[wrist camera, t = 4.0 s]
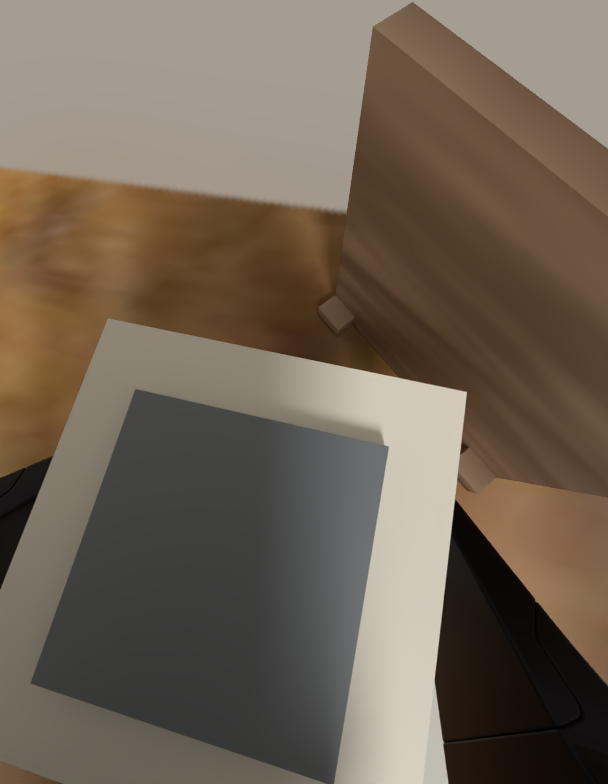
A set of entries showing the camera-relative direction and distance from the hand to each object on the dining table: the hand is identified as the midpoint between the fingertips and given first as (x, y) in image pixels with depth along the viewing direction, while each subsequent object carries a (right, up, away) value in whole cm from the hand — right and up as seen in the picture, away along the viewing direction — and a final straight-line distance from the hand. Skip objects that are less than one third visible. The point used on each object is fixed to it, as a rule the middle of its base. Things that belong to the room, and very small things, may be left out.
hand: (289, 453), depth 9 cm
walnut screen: (+7, +3, +8) cm, 11 cm away
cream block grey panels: (0, -2, +7) cm, 7 cm away
